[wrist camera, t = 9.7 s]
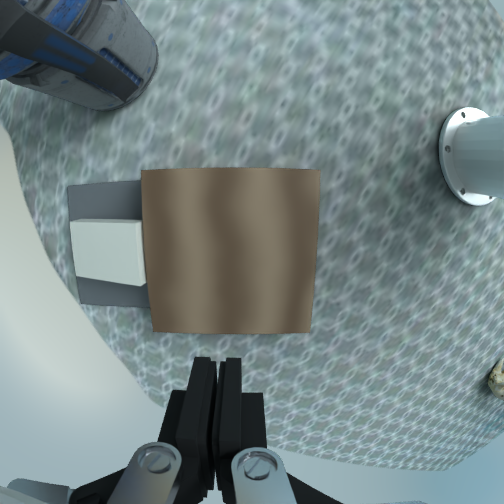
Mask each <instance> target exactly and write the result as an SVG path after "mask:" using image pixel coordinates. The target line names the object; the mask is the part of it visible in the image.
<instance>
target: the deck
mask: <svg viewBox="0 0 504 504" xmlns="http://www.w3.org/2000/svg"><path fill="white" fill-rule="evenodd" d="M141 189H142V217H143V235H144V250H145V262H146V274H147V284H148V293H149V302H150V311H151V318H152V326H153V332H169V333H197V334H284V333H310V326H311V316H312V306H313V294H314V282H315V269H316V255H317V239H318V221H319V198H320V170H310V169H286V168H182V169H158V170H141Z"/></svg>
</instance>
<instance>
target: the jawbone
mask: <svg viewBox="0 0 504 504" xmlns="http://www.w3.org/2000/svg"><path fill="white" fill-rule="evenodd" d="M503 361H504V358H503V359H502V360H500V361H499V362H498V363H497V364H496V366H495V367H494V369H493V371H492V372H491V374H490V377H489V380H488V385H489V387H490V389H491V390H492V392H493V393H494V395H495V396H496V397H497V398H499V399H501V400H503V401H504V370H503V371H501V367H502V364H503Z"/></svg>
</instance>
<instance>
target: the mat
mask: <svg viewBox="0 0 504 504" xmlns="http://www.w3.org/2000/svg"><path fill="white" fill-rule="evenodd" d="M68 204H69V218H70V222H71V221H75V220H79V219H124V220H143V217H142V189H141V180H140V181H123V182H109V183H96V184H84V185H73V186H68ZM76 277H77V284H78V290H79V295H80V301H81V304H93V305H109V306H126V307H147V308H150V302H149V293H148V284H147V283H145V284H143V285H142V286H135V285H129V284H122V283H116V282H110V281H103V280H97V279H91V278H85V277H80V276H76Z"/></svg>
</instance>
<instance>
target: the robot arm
mask: <svg viewBox="0 0 504 504" xmlns="http://www.w3.org/2000/svg"><path fill="white" fill-rule="evenodd" d="M439 159H440V164H441V169H442V172H443V175H444V178H445V180H446V182H447V184H448V186H449V188H450V189H451V191H452V192H453V193H454V195H455V196H456V197H458V198H459V199H460V200H461V201H463V202H465V203H466V204H470V205H474V206H483V205H486V204H488V203H490V202H491V201H493V200H494V199H495V198H496V197H497V198H502V199H504V115H501V116H492V117H489V116H488V115H487V114H486V113H484V112H483V111H481V110H479V109H477V108H473V107H464V108H460V109H457V110H455V111H454V112H452V113H451V114H450V115H449V116H448V117H447V119H446V121H445V122H444V124H443V127H442V130H441V133H440V139H439ZM215 472H216V478H217V486H218V490H219V491H222V497H223V502H224V503H226V504H343V503H341V502H339V501H337V500H335V499H333V498H331V497H329V496H327V495H325V494H323V493H322V492H320V491H318V490H316V489H314V488H312V487H311V486H309V485H307V484H305V483H304V482H302V481H300V480H298V479H297V478H295V477H293V476H292V475H290V474H288V473H287V472H286V470H285V467H284V464H283V461H282V460H281V458H280V456H279V455H277V454H276V453H275V452H273V451H271V450H269V449H267V441H266V428H265V414H264V401H263V393H242V370H241V358H226V361H221V362H220V369H219V377H218V383H217V367H216V361H211V359H210V357H195V358H194V362H193V366H192V370H191V374H190V378H189V382H188V386H187V391H185V390H173V391H172V393H171V396H170V399H169V403H168V406H167V410H166V413H165V417H164V420H163V423H162V427H161V431H160V434H159V437H158V441H157V442H151V443H148V444H145V445H143V446H141V447H140V448H138V450H137V451H136V452H135V453H134V455H133V457H132V459H131V460H130V462H129V464H128V466H127V467H126V468H124V469H121V470H119V471H117V472H115V473H112V474H110V475H108V476H105V477H103V478H101V479H98V480H96V481H94V482H91V483H88V484H86V485H83V486H80V487H79V488H77V489H70V488H69V486H63V485H56V484H49V483H43V482H38V481H32V480H27V479H15V480H13V481H12V482H10V483H9V485H8V486H7V488H5V487H2V486H0V504H198V503H200V502H201V501H203V497H206V498H207V492H208V490H213V489H214V478H215ZM384 504H426V503H424V502H421V501H409V502H399V503H384Z"/></svg>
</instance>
